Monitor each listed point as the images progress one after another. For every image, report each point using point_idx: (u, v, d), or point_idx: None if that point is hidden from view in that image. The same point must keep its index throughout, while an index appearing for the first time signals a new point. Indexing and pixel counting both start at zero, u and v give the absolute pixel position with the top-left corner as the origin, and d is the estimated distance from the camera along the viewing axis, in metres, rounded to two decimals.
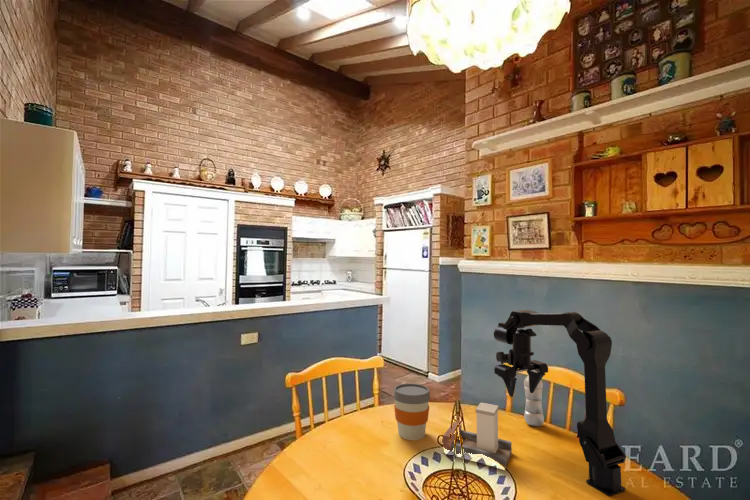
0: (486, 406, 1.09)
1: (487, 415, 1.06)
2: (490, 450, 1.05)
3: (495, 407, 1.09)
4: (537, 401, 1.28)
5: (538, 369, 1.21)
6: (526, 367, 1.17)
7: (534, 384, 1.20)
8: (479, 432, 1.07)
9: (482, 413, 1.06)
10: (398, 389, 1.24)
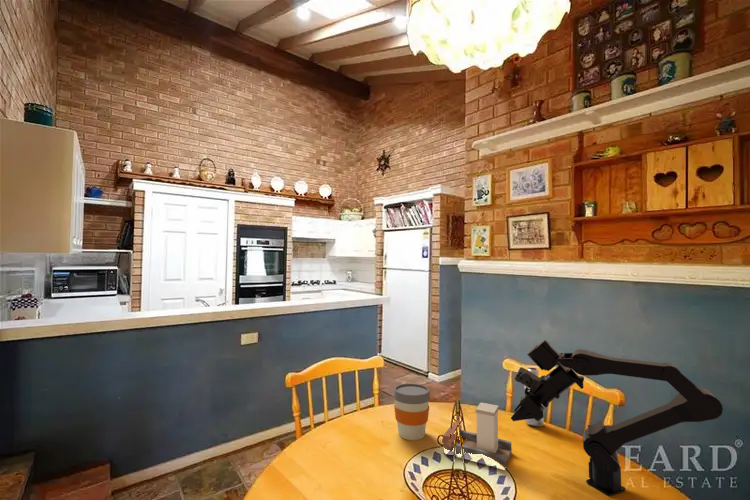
0: (486, 406, 1.09)
1: (487, 415, 1.06)
2: (490, 450, 1.05)
3: (495, 407, 1.09)
4: None
5: None
6: None
7: None
8: (479, 432, 1.07)
9: (482, 413, 1.06)
10: (398, 389, 1.24)
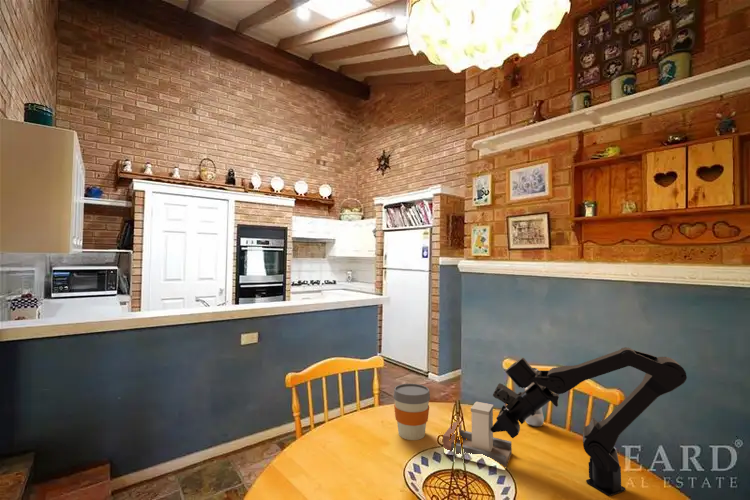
0: (481, 405, 1.10)
1: (482, 414, 1.06)
2: (485, 449, 1.05)
3: (490, 406, 1.09)
4: None
5: None
6: None
7: None
8: (474, 431, 1.07)
9: (477, 412, 1.07)
10: (398, 389, 1.25)
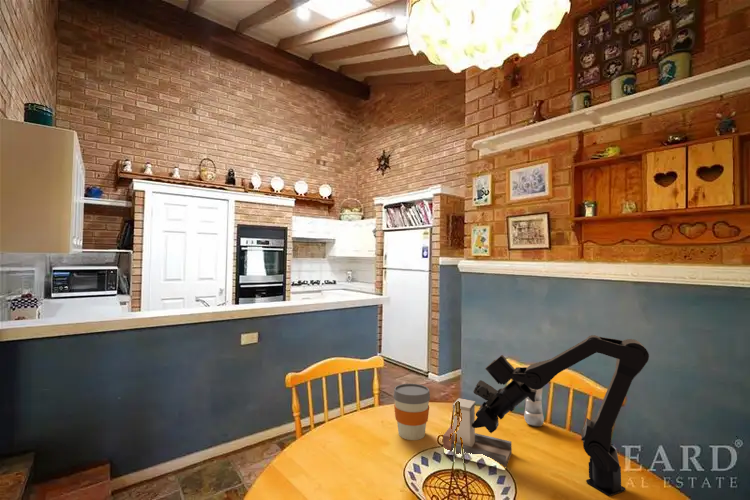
0: (463, 402, 1.13)
1: (463, 410, 1.09)
2: (466, 444, 1.08)
3: (472, 402, 1.12)
4: (537, 401, 1.28)
5: None
6: (502, 416, 1.06)
7: None
8: (455, 426, 1.10)
9: None
10: (398, 389, 1.25)
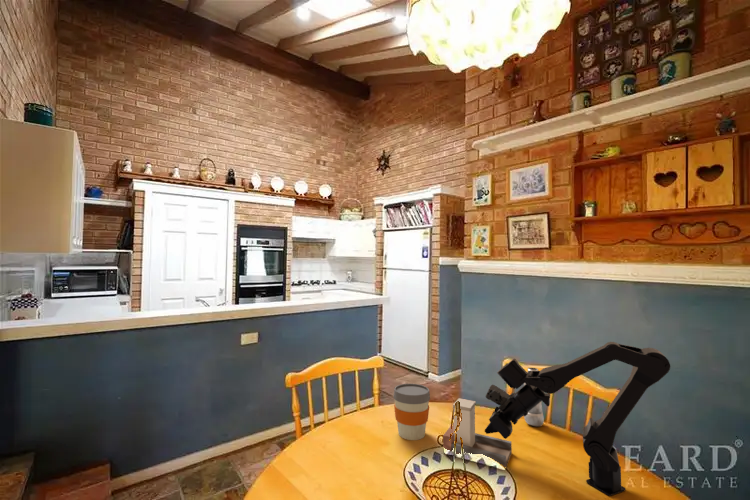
0: (463, 402, 1.13)
1: (464, 410, 1.09)
2: (466, 444, 1.08)
3: (472, 403, 1.12)
4: None
5: None
6: None
7: None
8: None
9: None
10: (398, 389, 1.25)
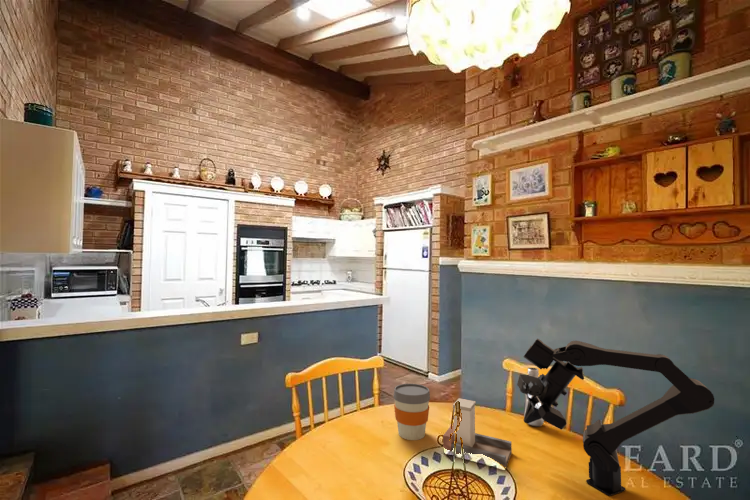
0: (463, 402, 1.13)
1: (464, 410, 1.09)
2: (466, 444, 1.08)
3: (472, 403, 1.12)
4: None
5: None
6: None
7: None
8: None
9: None
10: (398, 389, 1.25)
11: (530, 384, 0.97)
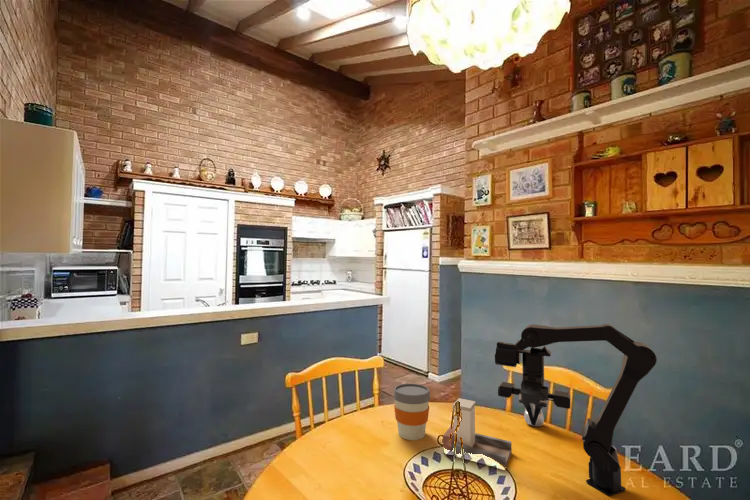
0: (463, 402, 1.13)
1: (464, 410, 1.09)
2: (466, 444, 1.08)
3: (472, 403, 1.12)
4: None
5: None
6: None
7: None
8: None
9: None
10: (398, 389, 1.24)
11: (543, 391, 0.95)
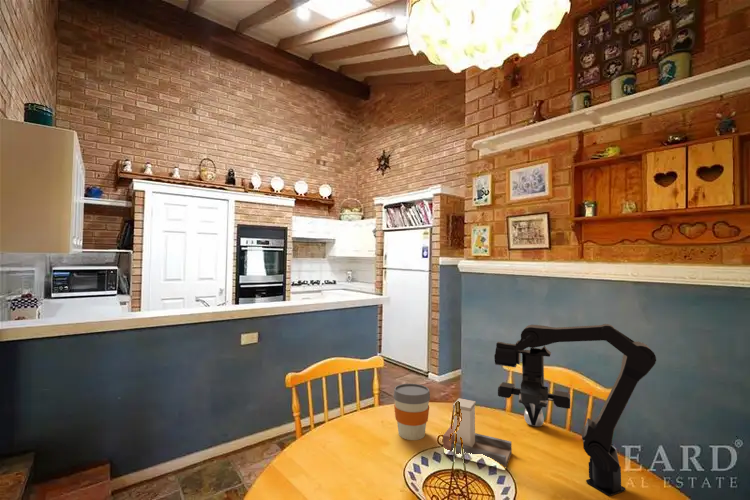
0: (463, 402, 1.13)
1: (464, 410, 1.09)
2: (466, 444, 1.08)
3: (472, 403, 1.12)
4: None
5: None
6: None
7: None
8: None
9: None
10: (398, 389, 1.24)
11: (543, 391, 0.95)
